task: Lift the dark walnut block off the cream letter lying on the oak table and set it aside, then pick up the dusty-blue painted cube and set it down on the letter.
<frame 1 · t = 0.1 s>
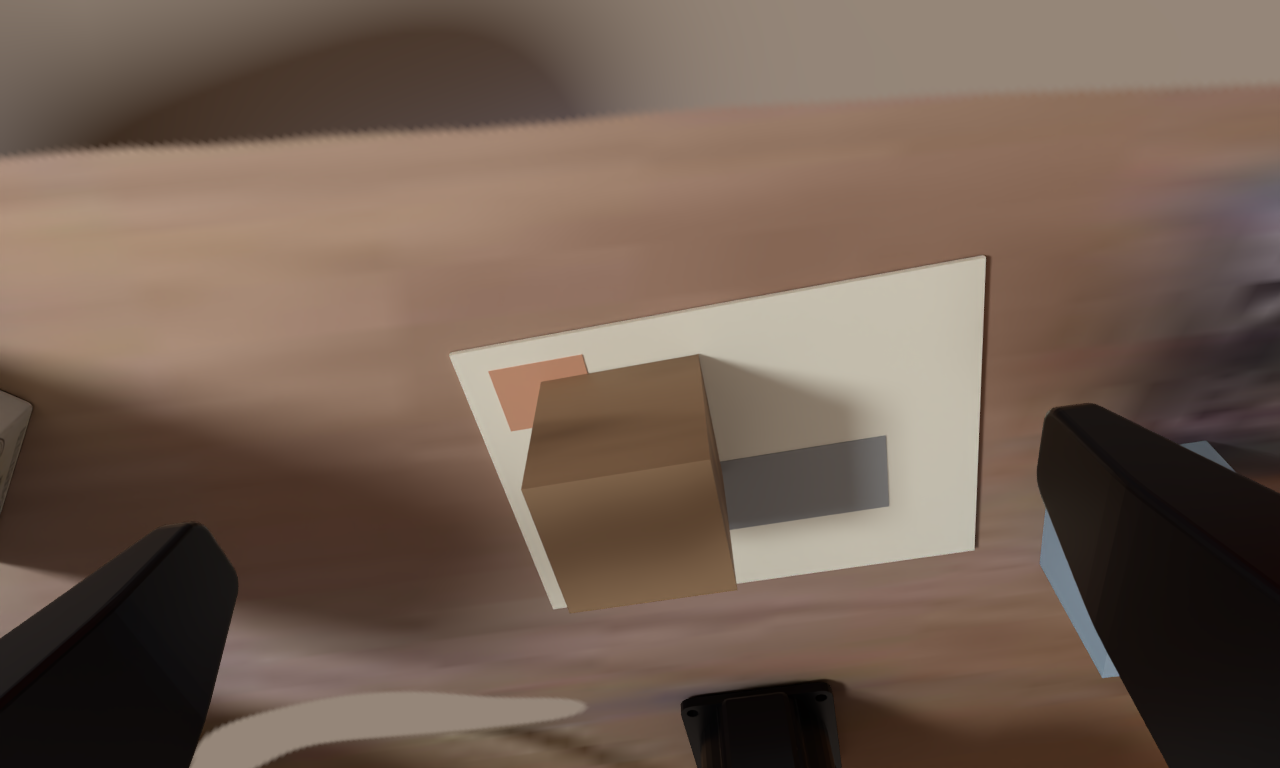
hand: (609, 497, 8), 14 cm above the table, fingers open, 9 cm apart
walnut block: (635, 430, 26), resting on letter
letter: (734, 458, 27), on the table
blue cube: (1116, 504, 28), on the table
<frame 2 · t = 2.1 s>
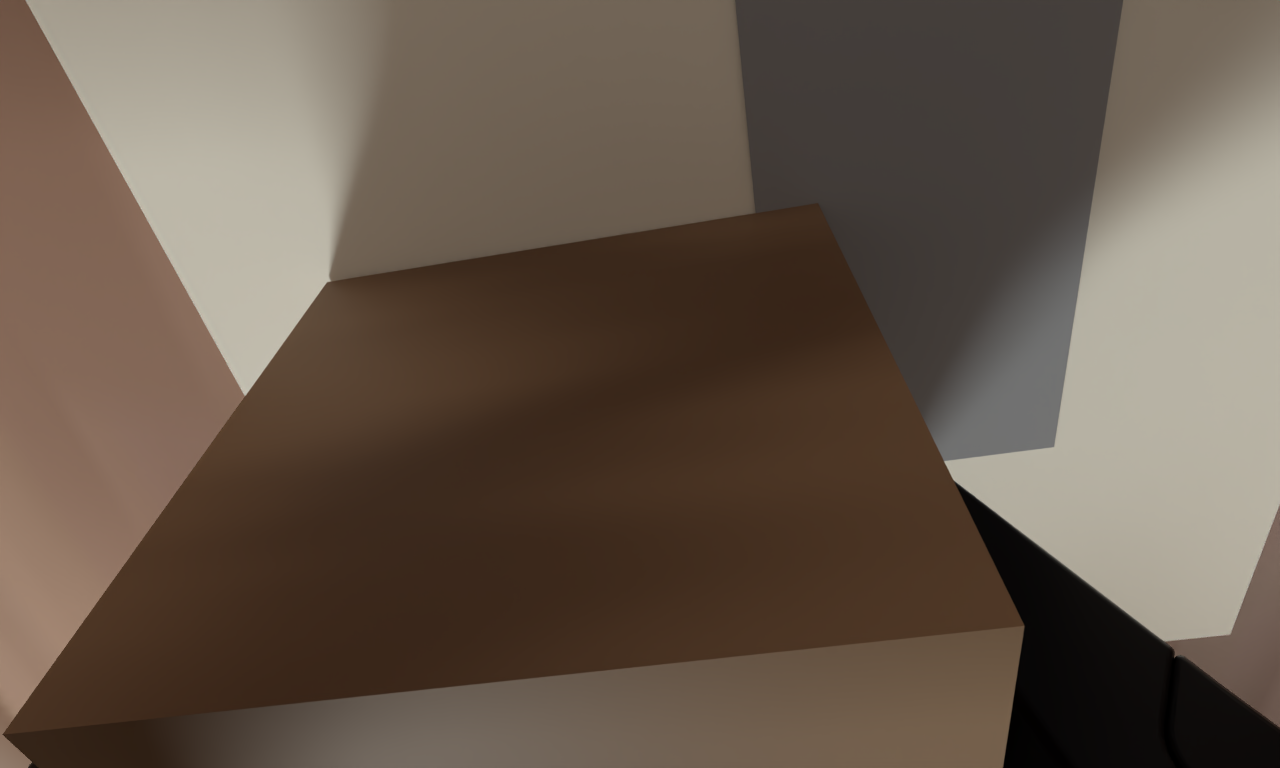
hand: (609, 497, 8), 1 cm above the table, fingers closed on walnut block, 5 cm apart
walnut block: (612, 438, 9), resting on letter, touching gripper
letter: (759, 154, 8), on the table
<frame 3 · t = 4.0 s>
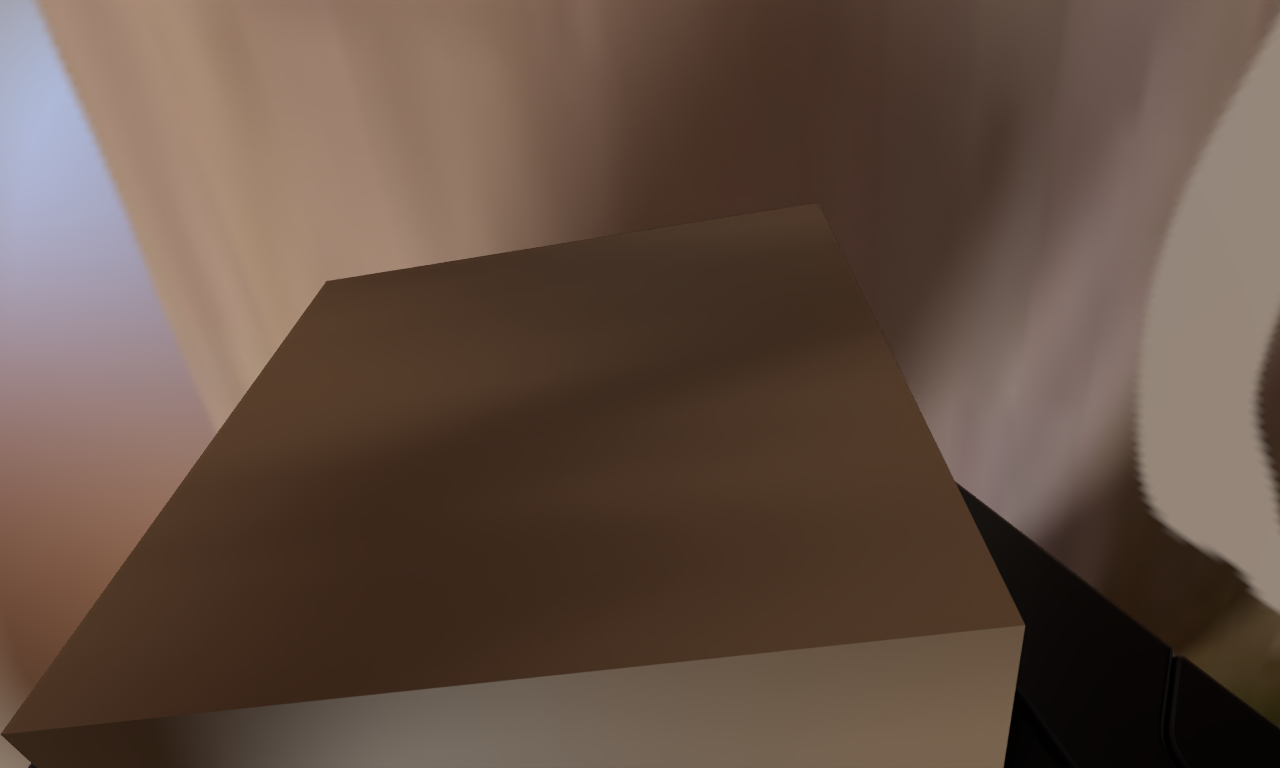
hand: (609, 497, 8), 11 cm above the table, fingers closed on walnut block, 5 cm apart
walnut block: (612, 438, 9), point 10 cm above the table, touching gripper
when the fingers open (2 cm above the table, at t = 5.8 s): walnut block drops 2 cm, on the table.
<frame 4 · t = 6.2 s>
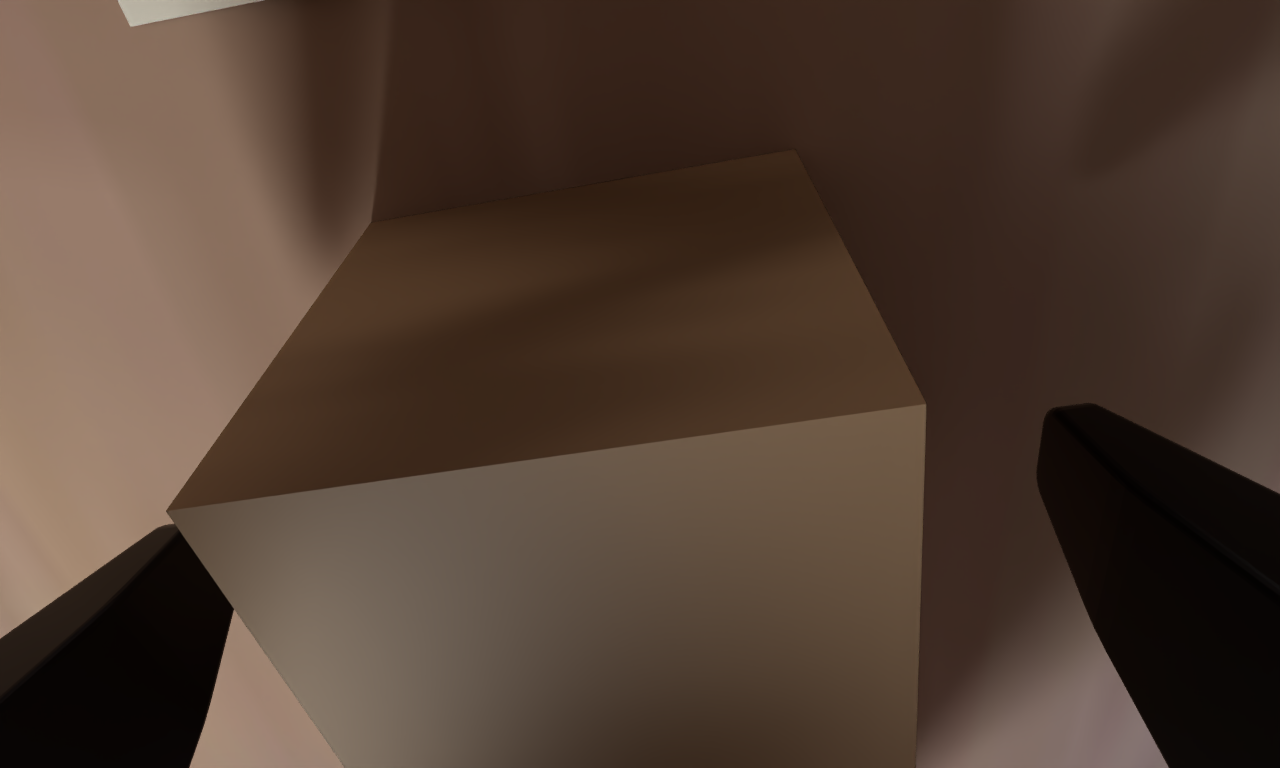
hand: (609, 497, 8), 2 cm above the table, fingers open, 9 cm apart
walnut block: (618, 362, 11), on the table
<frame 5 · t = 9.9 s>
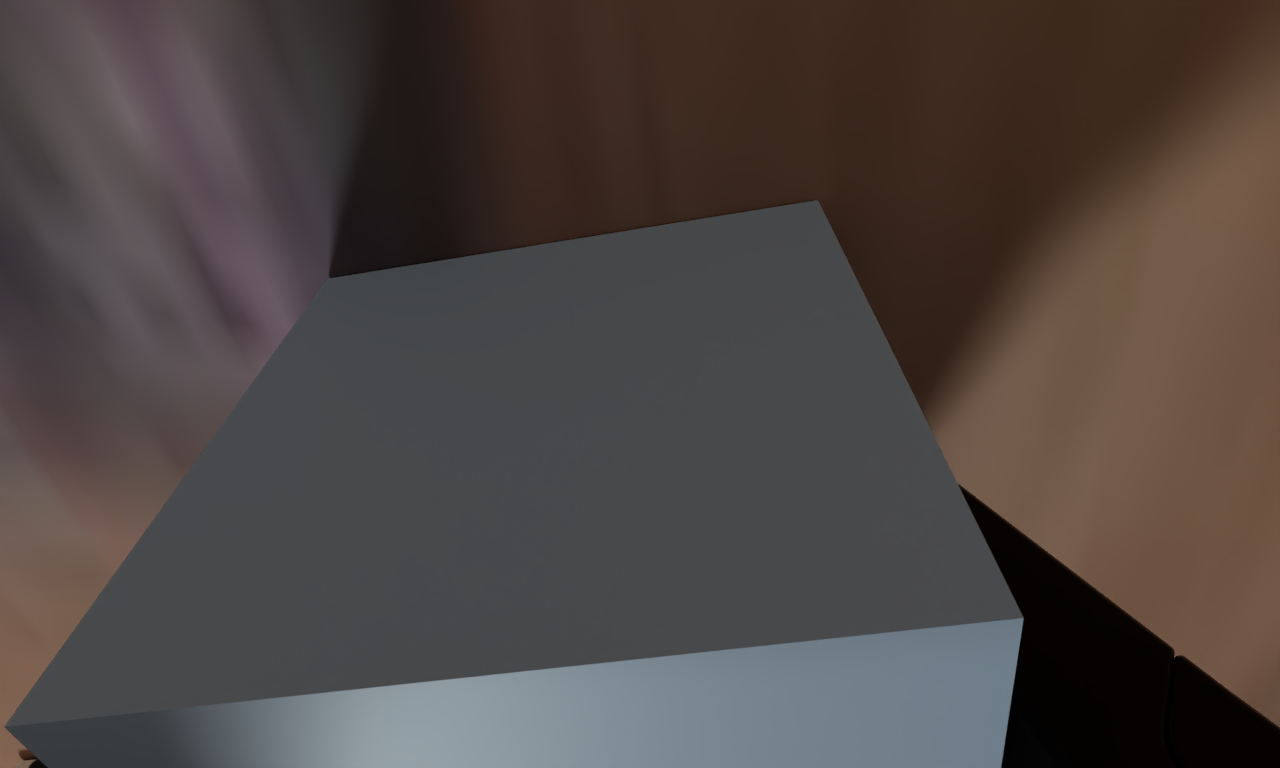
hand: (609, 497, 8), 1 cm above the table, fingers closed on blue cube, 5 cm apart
blue cube: (612, 435, 9), on the table, touching gripper
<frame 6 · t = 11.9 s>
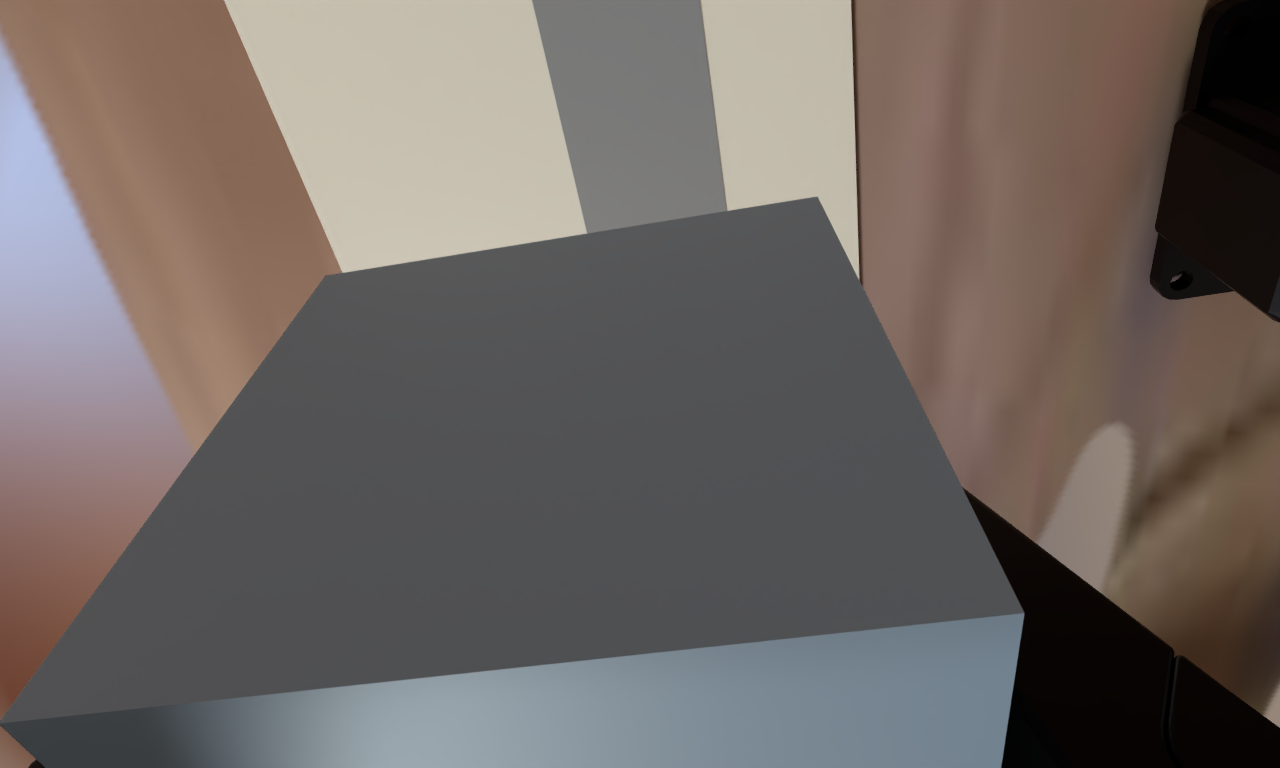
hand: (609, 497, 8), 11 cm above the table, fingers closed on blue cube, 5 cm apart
letter: (589, 217, 18), on the table
blue cube: (611, 433, 9), point 10 cm above the table, touching gripper
when the fingers open (3 cm above the table, at t = 13.7 s): blue cube drops 2 cm, resting on letter.
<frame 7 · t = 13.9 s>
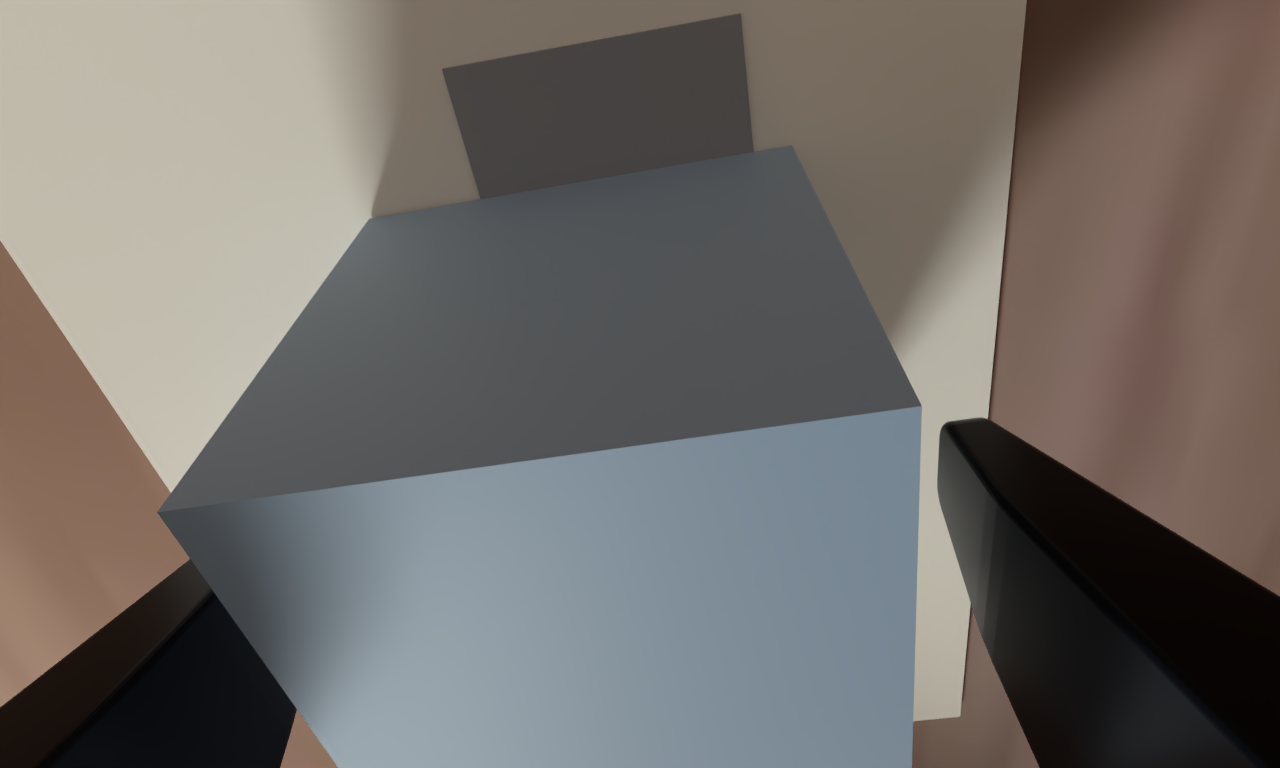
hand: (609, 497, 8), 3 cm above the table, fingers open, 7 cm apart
letter: (558, 424, 11), on the table
blue cube: (616, 362, 11), resting on letter
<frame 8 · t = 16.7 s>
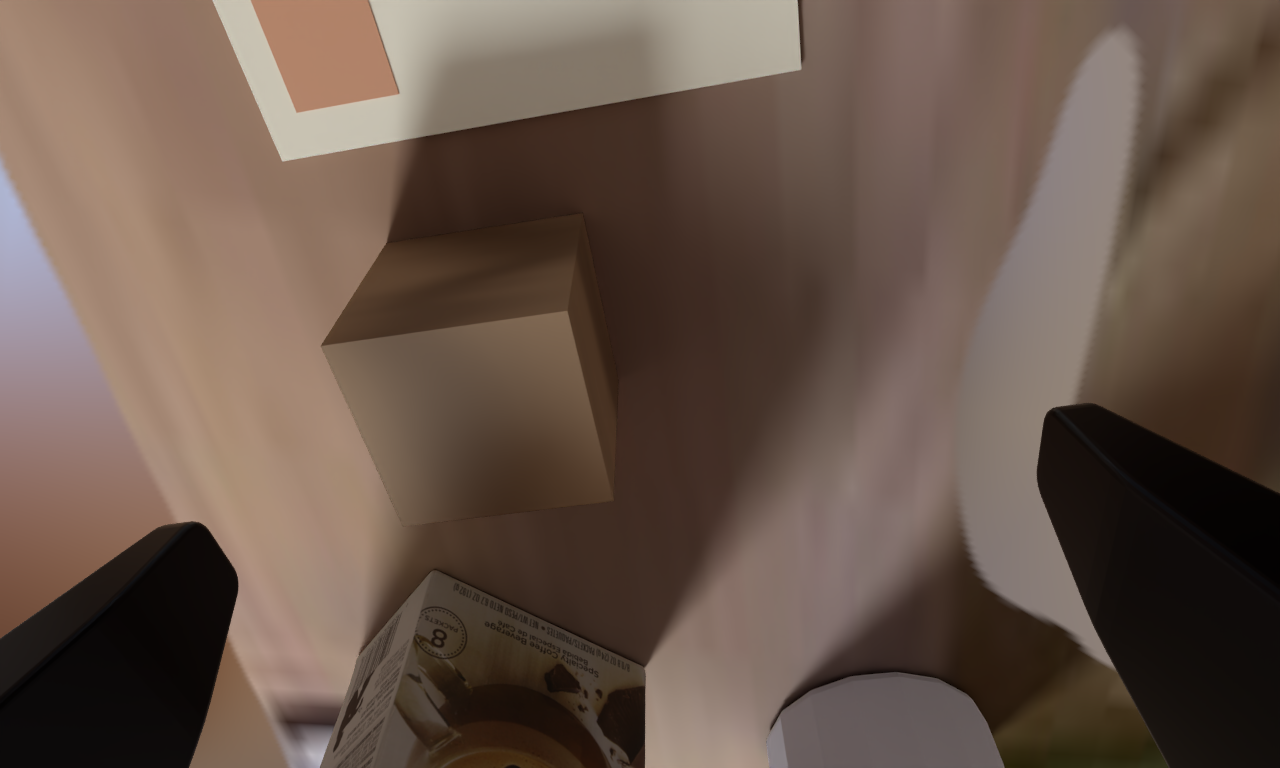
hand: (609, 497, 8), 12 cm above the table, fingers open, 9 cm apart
walnut block: (509, 314, 21), on the table
coffee box: (502, 656, 29), on the table
soap bottle: (861, 731, 32), on the table
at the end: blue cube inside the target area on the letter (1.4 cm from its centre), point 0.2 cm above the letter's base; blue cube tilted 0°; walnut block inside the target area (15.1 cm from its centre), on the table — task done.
